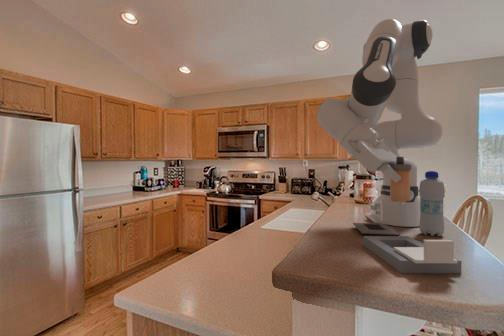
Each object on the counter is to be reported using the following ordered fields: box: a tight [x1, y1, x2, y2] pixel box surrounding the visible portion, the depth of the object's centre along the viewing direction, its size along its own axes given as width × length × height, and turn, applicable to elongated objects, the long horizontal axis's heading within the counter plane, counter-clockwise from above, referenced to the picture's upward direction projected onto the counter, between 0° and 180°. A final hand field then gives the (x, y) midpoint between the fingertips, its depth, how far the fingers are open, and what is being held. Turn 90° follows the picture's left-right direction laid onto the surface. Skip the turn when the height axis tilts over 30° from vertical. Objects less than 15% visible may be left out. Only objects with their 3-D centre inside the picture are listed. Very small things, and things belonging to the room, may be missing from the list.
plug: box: [389, 156, 412, 205], centre depth 61 cm, size 5×5×12 cm
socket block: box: [362, 235, 462, 274], centre depth 59 cm, size 18×12×2 cm, turn 179°
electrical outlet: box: [352, 222, 401, 236], centre depth 81 cm, size 13×10×2 cm
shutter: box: [394, 239, 457, 263], centre depth 52 cm, size 9×8×5 cm
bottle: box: [418, 170, 446, 237], centre depth 79 cm, size 7×7×20 cm
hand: (402, 180), depth 61 cm, fingers closed on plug, 4 cm apart
